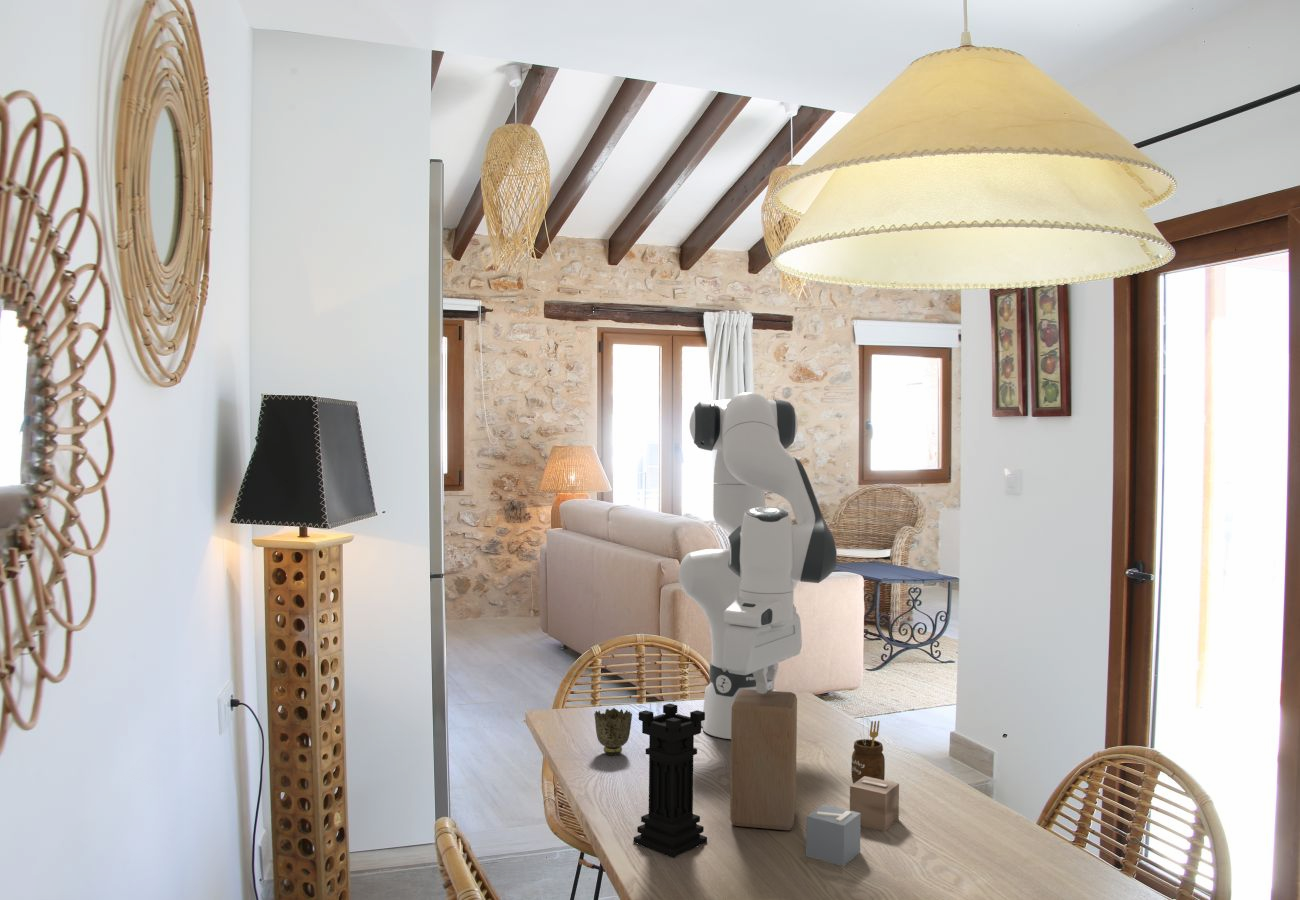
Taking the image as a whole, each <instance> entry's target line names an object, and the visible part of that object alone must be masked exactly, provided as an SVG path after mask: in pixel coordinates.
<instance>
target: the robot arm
mask: <svg viewBox="0 0 1300 900" xmlns="http://www.w3.org/2000/svg"><path fill="white" fill-rule="evenodd" d="M798 421H799V420H798V417H797V414H796V411H795V407H794V406H793V404H791V402H789V401H788V400H787V401H786V400H782V399H778V398H775V399H768V398H766V397H764V396H763V395H761V394H760V393H757V392H751V391H747V392H741V393H738V394H736V395H734V396H733V397H731V398H726V399H718V400H714V399H707V400H706V399H705V400H703V401H698V403H697V404H696V405H695V406H694V408H693V410H692V413H691V415H690V418H689V433H690V435H691V438H692V440H693V443H694V445H695V446H696V447H697V448H698V449H701V450H705V451H709V452H711V451H714V450H715V451H716V455H715V459H714V467H713V494H712V496H713V497H712V499H713V501H712V502H713V503H712V504H713V505H712V506H713V507H712V508H713V510H712V512H713V515H712V516H713V518H714V521H715V522H716V524H717V525H718V526H719V527H721V528H722V529H724V530H725V531H728V532H729V533H730V535H728V542H729V548H706V549H699V550H696V551H695V550H694V551H691V552H688V553H687V554H686V555H685V556H684V557H683V559H682V560H681V562H680V564H679V567H678V574H677V575H678V577H677V578H678V582H679V585H680V587H681V590H682V592H684V594H685V595H686V596H687V597H689V598H690V599H691V600H692V601H694V602H695V603H696V604H697V605H698V606H699V607H700V609H701V611H702V612H703V614H704V615H705V617H706V619H707V622H708V626H709V630H710V641H711V642H710V643H711V662H710V664H709V669H708V674H709V677H708V678H709V679H708V680H709V681H710V683H709V684H708V685H707V686H706V687H705V691H704V697H703V698H704V701H703V708H702V709H703V711H702V712H705V720H704V721H701V728H702V730H703V732H705V733H706V734H708V735H710V736H712V737H717V738H721V739H728V740H731V717H732V705H733V703H734V701H735V698H736V696H737V694H738V692H739V691H740V690H742V689H747V690H756V691H757V693H761V694H765V693H767V692H769V691H777V689H775V679H776V678H777V677H776V676H777V674H778V670H779V663H781V662H784V661H786V660H789V659H791V658H794V657H797V656H798V655H800V653H801V650H802V643H803V642H802V639H803V638H802V625H801V617H800V615H799V614H798V612H797V607H796V606H795V604H794V590H795V588H796V586H797V584H798V582H801V583H802V582H803V583H813V584H819V583H821V582H823V581H824V580H825V579H826V578H828V577H829V576H830V575H831V574H832V573H833V572H834V571H835V569H836V565H837V559H838V558H837V557H838V549H837V546H836V541H835V539H834V536H833V534H832V531H831V529H830V528H829V526H828V524H827V523H826V521H825V518H824V516H823V513H822V510H821V508H820V505H819V502H818V500H817V497H816V495H815V491H814V489H813V486H812V484H811V482H810V479H809V476H808V474H807V472H806V469H805V467H804V465H803V463H802V462H801V460H800V459H799V458H797V457H795V456H792V454H790V453H789V452H788V451H787V450H788V448H789V447H790V446H791V445H792V444H794V442H795V438H796V436H797V434H798V433H797V432H798V430H799V428H798V427H799V422H798ZM786 449H787V450H786ZM766 491H768V492H770V493H773V494H776V495H778V496H780V497H782V498H784V499H785V500H786V501H788V503H789V504H790V506H791V507H790V508H791V510H792V512H793V515H794V518H795V521H796V524H792V519H791V516H790V513H789V512H788V511H786V510H784V509H782V508H776V507H772V506H766Z"/></svg>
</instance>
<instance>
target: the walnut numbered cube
mask: <svg viewBox="0 0 1300 900" xmlns="http://www.w3.org/2000/svg"><path fill="white" fill-rule="evenodd" d="M899 805H900V783H899V782H894V781H889V780H885V779H884V780H881V779H876V778H871V777H867V776H864V777H862V778H861V779H859V780H858V781H857V782H854V783H853V784H850V786H849V810H850V811H854V812H858V813H861V818H860V826H862V827H866V826H867V827H866V828H870V827H871V828H870V829H875V830H879V831H883V832H886V831H887V830H888V829H890V828H891V827H892V826H893V825H894V824H895V823H897V822H898V821H899V815H900V806H899Z"/></svg>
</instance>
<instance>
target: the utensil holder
mask: <svg viewBox="0 0 1300 900" xmlns="http://www.w3.org/2000/svg"><path fill="white" fill-rule="evenodd" d="M865 719H866V723H867V725H869V722H870V728H867V737H870V739H869V738H865V731H864V729H865V727H864V725H862V730H863V731H862V733H863V737H862V733H861V732H859V735H860V737H861V739H857V740H855V741H854V743H853V749H854V750H853V752H852V755H851V769H850V770H851V779H852V781H853V782H854V783H855V782H857V781H858V780H859V779H861V778H862V777H864V776H867V777H871V778H876V779H881V780H885V778H886V777H885V774H886V773H885V772H886V771H885V770H886V769H885V768H886V762H885V754H884V753H883V752H884V746H883V743H882V742H880V741H878V740H875V739H876V738H877V737H879V730H880V720H878V721H877V720H875V721H873V720H870V719H869V718H866V717H863V718H862V720H863V721H862V720H860V721H859V723H861V722H864V721H865Z"/></svg>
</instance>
